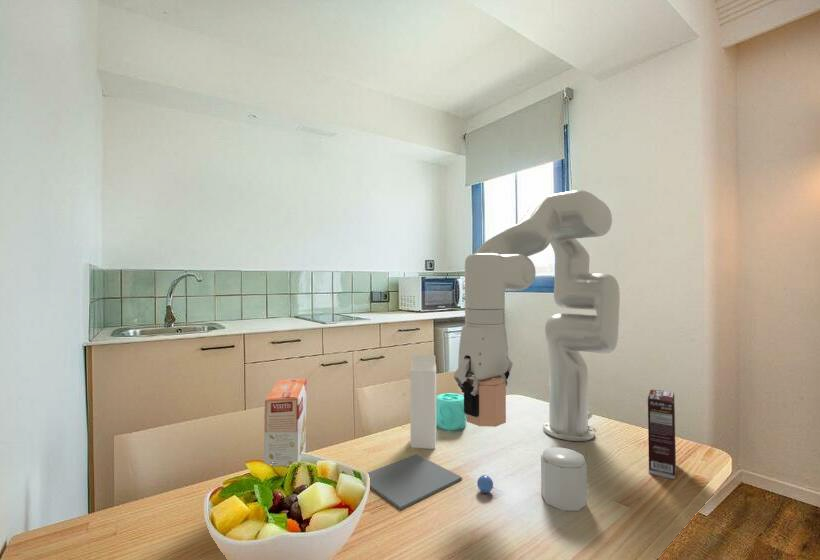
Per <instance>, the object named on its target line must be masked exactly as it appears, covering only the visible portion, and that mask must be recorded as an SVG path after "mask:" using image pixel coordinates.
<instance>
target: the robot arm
mask: <svg viewBox="0 0 820 560" xmlns="http://www.w3.org/2000/svg"><path fill="white" fill-rule="evenodd" d="M612 224H613V217H612V212H611V209H610V208H609V206H608V205H607V204H606V203H605V202H604V201H602V200H601V199H599V198H598V196H596V195H595V194H593V193H591V192H589V191H586V190H583V189H582V190H581V189H577V190H570V191H564V192H563V191H562V192H557V193H552V194H546V195H543V196H541V197H539V198H537V200H536V201H534V203H533V204H532V205H531V206H530V207H529V209H528V210H527V212H526V213H525V214H524V215H523V217H522V218H521V219H520V220H519V222H517V224H515V225H513V226H511V227H508V228H507V229H505V230H504V231H502V232H499V233H498V234H496V235H495V236H493V237H491V238H489V239H487V240H486V241H485V242H484V243H482V244H481V245H480V246H479V247H478V249H477V250H476V251H475V252H474V253H471V254H469V255H467V256H466V258H465V261H464V325H462V328H461V332H460V333H461V334H460V340H459V347H458V365H457V366H458V368H457V369H456V371H455V372H454V374H453V378H454V380H455V382H456V383H457V386H458V387H459V389H460V391H461V392H462V393H463V396H464V413H465V414H468V415H471V416H474V417H478V416H479V395H477V394H476V393H477V390H478V386H479V382H480V381H481V380H485V379H489V378H493V377H496V376H502V377H504V382H505V383H506V387H507V386H508V379H509V377H510V374H511V373H510V372H511V370H512V367H513V365H514V363H513V362H512V360H511V359H509V346H508V335H507V328H506V305H505V304H506V299H505V298H506V296H505V295H506V294H505V293H506V292H518V291H523V290H526V289H528V288H530V287H531V285H533V283H534V281H535V279H536V275H537V274H536V272H537V271H536V265H535V264H534V262H533V261H532V259H530V257H531V256H533V255H535V254H538V253H540V252H543V251H544V250H546V248H548V246H549V245H550V246H551V247H552V251H553V252H554V255H555V269H554V270H555V271H554V283H553V284H554V285H553V299H554V302H555V304H556V305H557V306H558V307H560V308H563V309H569V310H570V309H571V310H572V309H573V310H589V311H590V310H593V311H595V312H596V315H595V314H581V313H580V314H579V313H556V314H553V315H551V316H550V317H548V318H547V320H546V322H545V325H544V332H545V339H546V344H547V350H548V352H547V353H548V364H549V365H548V374H549V375H548V377H549V378H548V379H549V380H548V382H549V384H548V390H549V391H548V393H549V394H548V395H549V396H548V397H549V399H548V400H549V401H548V403H549V405H548V406H549V412H548V413H549V418H548V419H549V420H548V421H545V422H544V423H543V424H542V425H543V431H544V432H545V433H546V434H547V435H549V436H550V437H553V438H556V439H560V440H564V441H571V442H586V441H590V440H592V439H593V438H594V437H595V429H593V428H592V427H591V426H589V420H590V419H592V417H593V414H592V412H591V411H589V403H588V402H589V401H588V400H589V391H588V390H589V385H588V383H589V381H588V380H589V379H588V378H589V376H588V373H589V372H588V365H587V363H586V360H585V359H584V358H583V356H582V355H581V353H580V352H586V353H587V352H588V353H596V354H604V355H605V354H606V355H607V354H611V353H613V352H614V351H615V350H616V348H617V346H618V340H619V325H620V324H619V322H620V321H619V319H620V302H621V298H620V287H619V286H620V285H619V283H618V280H617V279H616V277H615V276H613V275H612V274H610V273H605V272H603V273H601V272H598V273H594V272H593V273H590V259H591V258H590V255H589V252H588V250H586V248H585V247H584V245H583V244H581V242H580V241H579V240H578V239H584V238H585V239H586V238H599V237H602V236H605V235H607V234H608V233H609V231H610V230H611V227H612ZM472 375H474V377H472ZM470 380H472V381H474V382H473V385H472V386H471V385H470V384H469V383H470Z"/></svg>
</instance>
